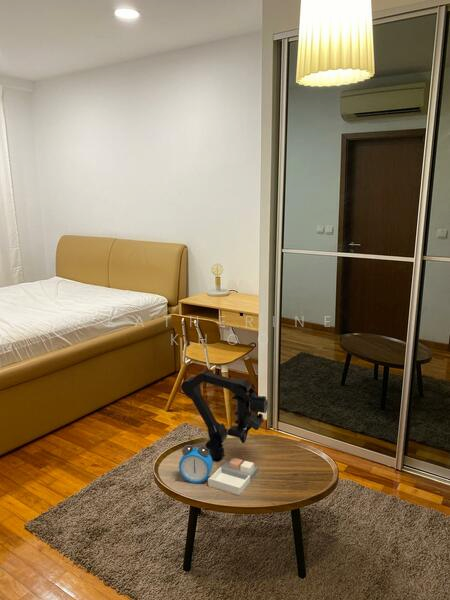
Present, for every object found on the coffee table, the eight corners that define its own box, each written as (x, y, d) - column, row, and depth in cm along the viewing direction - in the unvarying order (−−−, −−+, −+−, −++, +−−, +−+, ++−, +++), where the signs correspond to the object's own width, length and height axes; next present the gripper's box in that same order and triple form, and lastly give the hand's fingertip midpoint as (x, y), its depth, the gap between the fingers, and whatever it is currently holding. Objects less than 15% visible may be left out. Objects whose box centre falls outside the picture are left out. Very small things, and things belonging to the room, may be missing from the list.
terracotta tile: (229, 467, 193) (229, 462, 193) (233, 463, 197) (233, 457, 197) (238, 470, 192) (238, 465, 191) (242, 465, 195) (242, 460, 195)
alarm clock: (179, 482, 188) (177, 448, 185) (183, 473, 194) (181, 441, 191) (210, 485, 186) (209, 451, 183) (213, 476, 192) (212, 443, 189)
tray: (208, 486, 185) (208, 478, 185) (220, 473, 194) (220, 466, 193) (239, 495, 179) (239, 487, 178) (250, 482, 187) (250, 474, 187)
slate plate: (220, 473, 194) (220, 468, 193) (229, 464, 201) (229, 458, 200) (250, 482, 187) (250, 476, 187) (258, 472, 194) (258, 466, 194)
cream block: (240, 471, 191) (240, 465, 190) (244, 466, 195) (244, 460, 194) (249, 473, 189) (249, 468, 189) (253, 468, 193) (253, 463, 192)
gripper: (251, 422, 184) (251, 457, 187) (269, 404, 200) (269, 436, 203) (226, 416, 189) (227, 450, 193) (246, 399, 206) (246, 431, 209)
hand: (243, 442), depth 199 cm, fingers closed
